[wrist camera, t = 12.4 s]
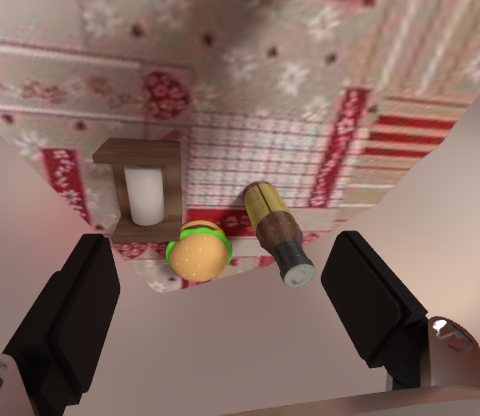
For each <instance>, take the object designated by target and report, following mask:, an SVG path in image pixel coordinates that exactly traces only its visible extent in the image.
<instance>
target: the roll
mask: <svg viewBox="0 0 480 416" xmlns="http://www.w3.org/2000/svg"><path fill="white" fill-rule="evenodd" d="M124 171H125V177H126V184H127V190H128V196H129V202H130V209H131V215H132V220H133V222H134V223H136V224H138V225H143V226H149V225H154V224H157V223H159V222H161V221H162V220H163V219H164V218H165V210H164V197H163V183H162V169H161V165H135V164H124Z"/></svg>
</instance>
